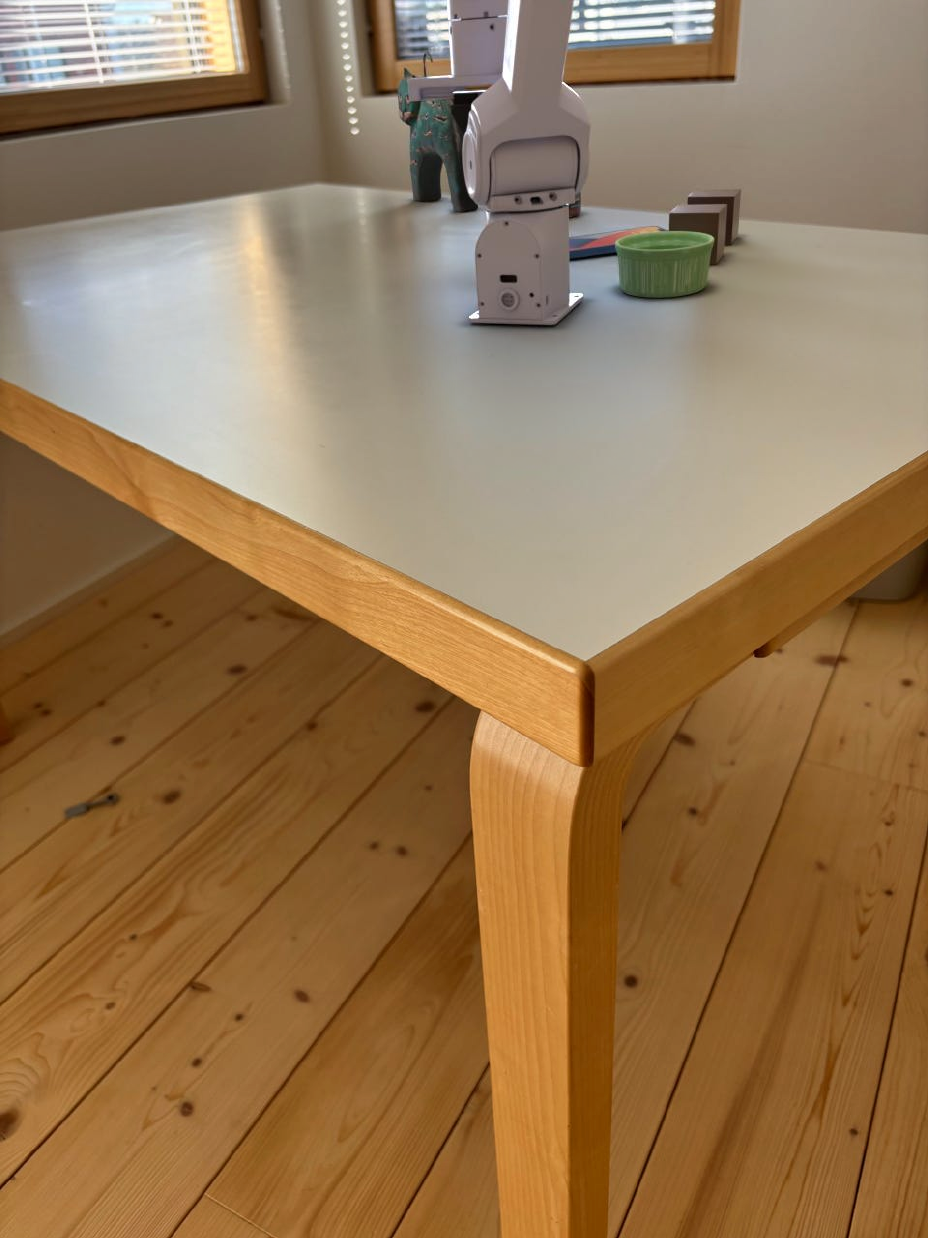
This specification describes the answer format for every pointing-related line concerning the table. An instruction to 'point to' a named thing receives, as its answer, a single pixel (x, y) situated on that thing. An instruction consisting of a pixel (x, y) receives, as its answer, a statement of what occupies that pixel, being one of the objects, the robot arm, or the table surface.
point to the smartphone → (603, 241)
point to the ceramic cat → (434, 146)
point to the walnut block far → (721, 197)
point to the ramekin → (664, 263)
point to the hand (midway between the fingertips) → (487, 180)
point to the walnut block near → (702, 224)
